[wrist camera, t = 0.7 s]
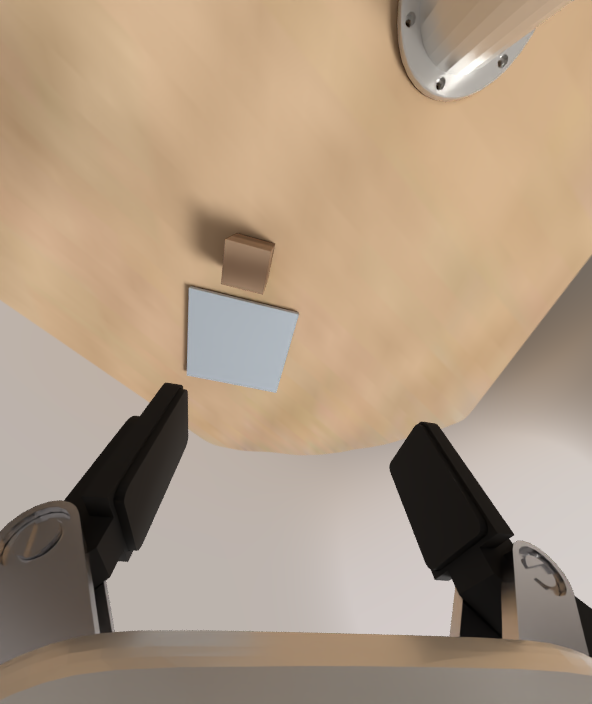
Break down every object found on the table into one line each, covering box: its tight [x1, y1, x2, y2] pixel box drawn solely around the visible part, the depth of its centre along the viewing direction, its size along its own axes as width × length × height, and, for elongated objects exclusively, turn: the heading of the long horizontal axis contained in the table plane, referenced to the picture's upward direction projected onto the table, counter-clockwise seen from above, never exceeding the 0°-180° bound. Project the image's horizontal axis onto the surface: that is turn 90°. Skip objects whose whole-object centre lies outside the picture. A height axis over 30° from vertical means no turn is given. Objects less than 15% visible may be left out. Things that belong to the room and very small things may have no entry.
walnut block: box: [221, 233, 275, 294], centre depth 30 cm, size 5×5×6 cm
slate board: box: [187, 286, 299, 393], centre depth 39 cm, size 16×16×1 cm
